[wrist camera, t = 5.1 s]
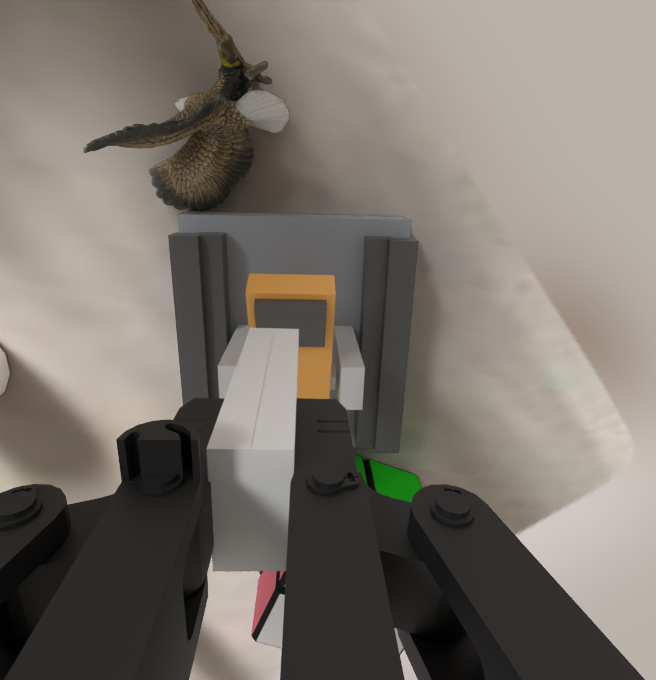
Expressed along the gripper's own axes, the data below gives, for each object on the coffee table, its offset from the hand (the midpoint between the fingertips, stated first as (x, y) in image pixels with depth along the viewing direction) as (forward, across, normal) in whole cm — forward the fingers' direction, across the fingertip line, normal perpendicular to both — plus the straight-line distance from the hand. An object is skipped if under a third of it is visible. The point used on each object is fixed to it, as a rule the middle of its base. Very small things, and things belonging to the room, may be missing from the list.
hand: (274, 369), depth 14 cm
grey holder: (+18, 0, -5) cm, 18 cm away
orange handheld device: (+9, 0, -4) cm, 10 cm away
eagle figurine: (+18, -5, +8) cm, 21 cm away
